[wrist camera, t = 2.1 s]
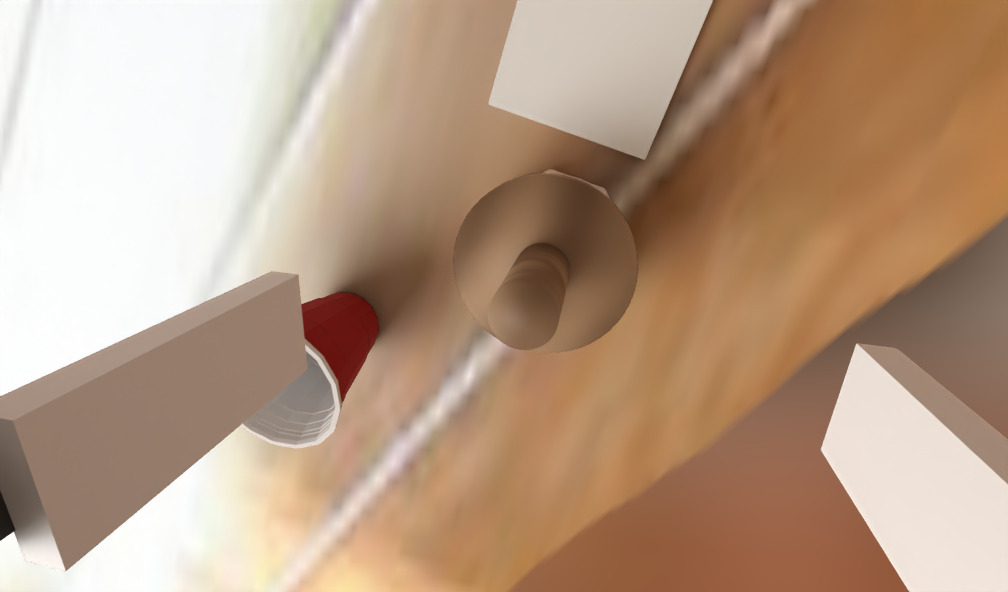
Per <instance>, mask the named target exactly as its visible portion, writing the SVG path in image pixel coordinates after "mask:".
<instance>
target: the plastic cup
mask: <svg viewBox="0 0 1008 592" xmlns="http://www.w3.org/2000/svg"><path fill="white" fill-rule="evenodd" d="M301 307H302V318H303V328H304V338H305V348H306V358H307V370H306V371H305V372H303V373H302V374H301V375H300V376H299V377H297V378H296V379H295V380H294V381H293V382H291V383H290V384H289V385H288V386H287V387H285V388H284V389H283V390H282V391H281V392H279V393H278V394H277V395H276V396H275V397H273V398H272V399H271V400H270V401H269V402H267V403H266V404H265V405H264V406H263V407H261V408H260V409H259V410H258V411H257V412H256V413H254V414H253V415H252V416H251V417H250V418H248V419H247V420H246V421H245V422H244V423H242V424H241V426H242V427H243V428H244V429H246V430H247V431H248V432H249V433H251V434H253V435H255V436H257V437H259V438H261V439H263V440H265V441H267V442H269V443H271V444H273V445H279V446H285V447H290V448H296V449H299V448H304V447H309V446H313V445H318V444H320V443H321V442H322V441H323V440H325V439H326V438H327V437H328V436H329V435H330V434H331V433H333V432H334V430H335V428H336V425H337V422H338V418H339V415H340V412H341V408H342V403H343V401H344V399H345V396H346V394H347V392H348V390H349V388H350V387H351V385H352V383H353V381H354V380H355V378H356V376H357V374H358V373H359V371H360V369H361V367H362V366H363V364H364V362H365V360H366V358H367V355H368V353H369V351H370V350H371V348H372V346H373V345H374V343H375V340H376V337H377V334H378V330H379V325H378V317H377V315H376V313H375V311H374V309H373V307H372V306H371V305H370V304H369V303H368V302H367V301H366V300H364V299H363V298H361V297H359V296H357V295H355V294H353V293H342V292H341V293H335V294H332V295H329V296H327V297H324V298H318V299H315V300H312V301H309V302H307V303H304V304H301Z"/></svg>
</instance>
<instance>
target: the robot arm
mask: <svg viewBox="0 0 1008 592" xmlns="http://www.w3.org/2000/svg"><path fill="white" fill-rule="evenodd" d="M306 370H307V358H306V348H305V338H304V328H303V318H302V307H301V297H300V287H299V277H298V275H297V274H288V273H280V272H272V271H271V272H269V273H267V274H265V275H263V276H261V277H258V278H256V279H254V280H252V281H250V282H248V283H245V284H243V285H241V286H239V287H237V288H235V289H232V290H230V291H228V292H226V293H224V294H222V295H219V296H217V297H215V298H213V299H211V300H209V301H206V302H204V303H202V304H200V305H198V306H196V307H193V308H191V309H189V310H187V311H185V312H183V313H180V314H178V315H176V316H174V317H172V318H170V319H167V320H165V321H163V322H161V323H159V324H157V325H154V326H152V327H150V328H148V329H146V330H144V331H141V332H139V333H137V334H135V335H133V336H131V337H128V338H126V339H124V340H122V341H120V342H118V343H115V344H113V345H111V346H109V347H107V348H105V349H102V350H100V351H98V352H96V353H94V354H92V355H89V356H87V357H85V358H83V359H81V360H79V361H76V362H74V363H72V364H70V365H68V366H66V367H63V368H61V369H59V370H57V371H55V372H53V373H50V374H48V375H46V376H44V377H42V378H40V379H37V380H35V381H33V382H31V383H29V384H26V385H24V386H22V387H20V388H18V389H16V390H13V391H11V392H9V393H7V394H5V395H3V396H0V541H1V540H2V539H4V538H5V537H6V536H8V535H9V534H11V533H12V532H14V533H15V535H16V538H17V541H18V543H19V546H20V548H21V551H22V554H23V556H24V559H25V561H27V562H31V563H35V564H39V565H43V566H47V567H51V568H55V569H59V570H63V571H67V570H68V569H69V568H70V567H71V566H73V565H74V564H75V563H76V562H77V561H79V560H80V559H81V558H82V557H83V556H85V555H86V554H87V553H88V552H89V551H91V550H92V549H93V548H94V547H95V546H97V545H98V544H99V543H100V542H101V541H103V540H104V539H105V538H106V537H107V536H109V535H110V534H111V533H112V532H113V531H114V530H116V529H117V528H118V527H119V526H120V525H122V524H123V523H124V522H125V521H126V520H128V519H129V518H130V517H131V516H132V515H134V514H135V513H136V512H137V511H138V510H140V509H141V508H142V507H143V506H144V505H146V504H147V503H148V502H149V501H150V500H152V499H153V498H154V497H155V496H156V495H157V494H159V493H160V492H161V491H162V490H163V489H165V488H166V487H167V486H168V485H169V484H171V483H172V482H173V481H174V480H175V479H177V478H178V477H179V476H180V475H181V474H183V473H184V472H185V471H186V470H187V469H189V468H190V467H191V466H192V465H193V464H195V463H196V462H197V461H198V460H199V459H201V458H202V457H203V456H204V455H205V454H207V453H208V452H209V451H210V450H211V449H212V448H214V447H215V446H216V445H217V444H218V443H220V442H221V441H222V440H223V439H224V438H226V437H227V436H228V435H229V434H230V433H232V432H233V431H234V430H235V429H236V428H238V427H239V426H240V425H241V424H242V423H244V422H245V421H246V420H247V419H248V418H250V417H251V416H252V415H253V414H254V413H256V412H257V411H258V410H259V409H260V408H261V407H263V406H264V405H265V404H266V403H267V402H269V401H270V400H271V399H272V398H273V397H275V396H276V395H277V394H278V393H279V392H281V391H282V390H283V389H284V388H285V387H287V386H288V385H289V384H290V383H291V382H293V381H294V380H295V379H296V378H297V377H299V376H300V375H301V374H302V373H303V372H305V371H306ZM821 451H822V453H823V454H824V456H825V457H826V459H827V461H828V462H829V464H830V465H831V467H832V469H833V470H834V472H835V473H836V475H837V477H838V478H839V480H840V481H841V483H842V485H843V486H844V488H845V489H846V491H847V492H848V494H849V496H850V498H851V499H852V501H853V502H854V504H855V506H856V507H857V509H858V510H859V512H860V513H861V515H862V517H863V518H864V520H865V521H866V523H867V525H868V526H869V528H870V530H871V531H872V533H873V534H874V536H875V537H876V539H877V541H878V542H879V544H880V546H881V547H882V549H883V550H884V552H885V553H886V555H887V557H888V558H889V560H890V562H891V563H892V565H893V566H894V568H895V570H896V571H897V573H898V574H899V576H900V578H901V579H902V581H903V582H904V584H905V586H906V587H907V589H908V590H909V592H1008V439H1006V438H1005V437H1004V436H1003V435H1002V434H1000V433H999V432H998V431H997V430H996V429H994V428H993V427H992V426H991V425H989V424H988V423H987V422H986V421H985V420H983V419H982V418H981V417H979V416H978V415H977V414H976V413H975V412H974V411H972V410H971V409H970V408H969V407H967V406H966V405H965V404H964V403H962V402H961V401H960V400H959V399H958V398H956V397H955V396H954V395H953V394H952V393H950V392H949V391H948V390H947V389H946V388H944V387H943V386H942V385H941V384H939V383H938V382H937V381H935V380H934V379H933V378H932V377H931V376H930V375H928V374H927V373H926V372H925V371H923V370H922V369H921V368H920V367H919V366H917V365H916V364H915V363H914V362H912V361H911V360H910V359H909V358H908V357H906V356H905V355H904V354H903V353H902V352H900V351H899V350H898V349H897V348H889V347H882V346H874V345H866V344H856V347H855V350H854V353H853V356H852V359H851V362H850V365H849V368H848V371H847V374H846V377H845V379H844V382H843V386H842V388H841V391H840V394H839V397H838V400H837V403H836V406H835V409H834V412H833V415H832V418H831V421H830V424H829V427H828V430H827V433H826V436H825V439H824V442H823V445H822V448H821Z"/></svg>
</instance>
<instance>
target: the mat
mask: <svg viewBox="0 0 1008 592" xmlns="http://www.w3.org/2000/svg"><path fill="white" fill-rule="evenodd" d="M712 2H713V0H518V1H517V5H516V8H515V12H514V15H513V19H512V22H511V26H510V29H509V33H508V36H507V40H506V43H505V47H504V50H503V54H502V57H501V61H500V64H499V68H498V71H497V75H496V78H495V82H494V85H493V89H492V92H491V96H490V99H489V103H488V104H489V105H491V106H494V107H497V108H500V109H503V110H505V111H508V112H511V113H514V114H517V115H520V116H522V117H525V118H528V119H531V120H534V121H536V122H539V123H542V124H545V125H548V126H551V127H553V128H556V129H559V130H562V131H565V132H567V133H570V134H573V135H576V136H579V137H581V138H584V139H587V140H590V141H593V142H596V143H598V144H601V145H604V146H607V147H610V148H612V149H615V150H618V151H621V152H624V153H627V154H629V155H632V156H635V157H638V158H641V159H643V160H645V159H646V157H647V154H648V152H649V150H650V147H651V145H652V142H653V140H654V138H655V135H656V133H657V131H658V128H659V126H660V124H661V121H662V119H663V117H664V114H665V112H666V110H667V107H668V105H669V103H670V100H671V98H672V95H673V93H674V91H675V88H676V86H677V84H678V81H679V79H680V77H681V74H682V72H683V70H684V67H685V65H686V63H687V60H688V58H689V56H690V53H691V51H692V49H693V46H694V44H695V41H696V39H697V37H698V34H699V32H700V30H701V27H702V25H703V23H704V20H705V18H706V16H707V13H708V11H709V9H710V6H711V4H712Z"/></svg>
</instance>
